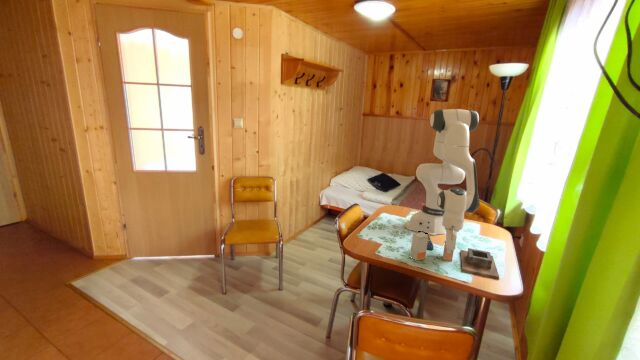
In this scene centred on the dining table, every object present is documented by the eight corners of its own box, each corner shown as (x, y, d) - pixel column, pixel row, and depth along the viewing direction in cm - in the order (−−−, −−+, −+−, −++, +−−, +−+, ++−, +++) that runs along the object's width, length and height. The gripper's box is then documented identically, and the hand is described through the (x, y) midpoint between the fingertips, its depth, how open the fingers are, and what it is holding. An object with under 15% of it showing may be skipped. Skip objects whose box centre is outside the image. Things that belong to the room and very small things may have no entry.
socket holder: (462, 271, 130) (464, 260, 129) (460, 252, 148) (461, 242, 147) (498, 279, 125) (501, 268, 124) (492, 258, 143) (494, 248, 142)
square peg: (442, 259, 140) (445, 243, 138) (442, 255, 144) (445, 240, 142) (451, 261, 139) (454, 245, 137) (451, 257, 142) (454, 242, 141)
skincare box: (415, 261, 138) (418, 237, 135) (409, 256, 141) (412, 233, 139) (425, 259, 140) (429, 235, 137) (419, 254, 144) (422, 231, 141)
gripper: (461, 232, 127) (456, 261, 130) (459, 217, 145) (455, 243, 148) (445, 229, 129) (441, 258, 132) (445, 214, 147) (441, 240, 151)
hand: (448, 250), depth 140 cm, fingers closed on square peg, 4 cm apart
